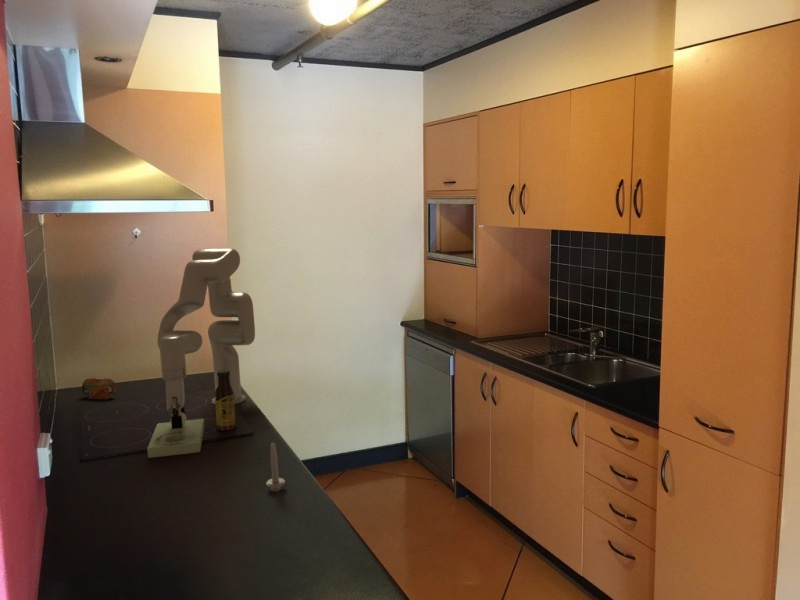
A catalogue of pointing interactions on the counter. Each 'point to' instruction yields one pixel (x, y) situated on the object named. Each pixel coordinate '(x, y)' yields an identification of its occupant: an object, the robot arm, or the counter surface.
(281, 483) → the screw
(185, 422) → the ball
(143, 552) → the counter surface
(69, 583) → the counter surface
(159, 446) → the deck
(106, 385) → the tin
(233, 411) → the sauce bottle
